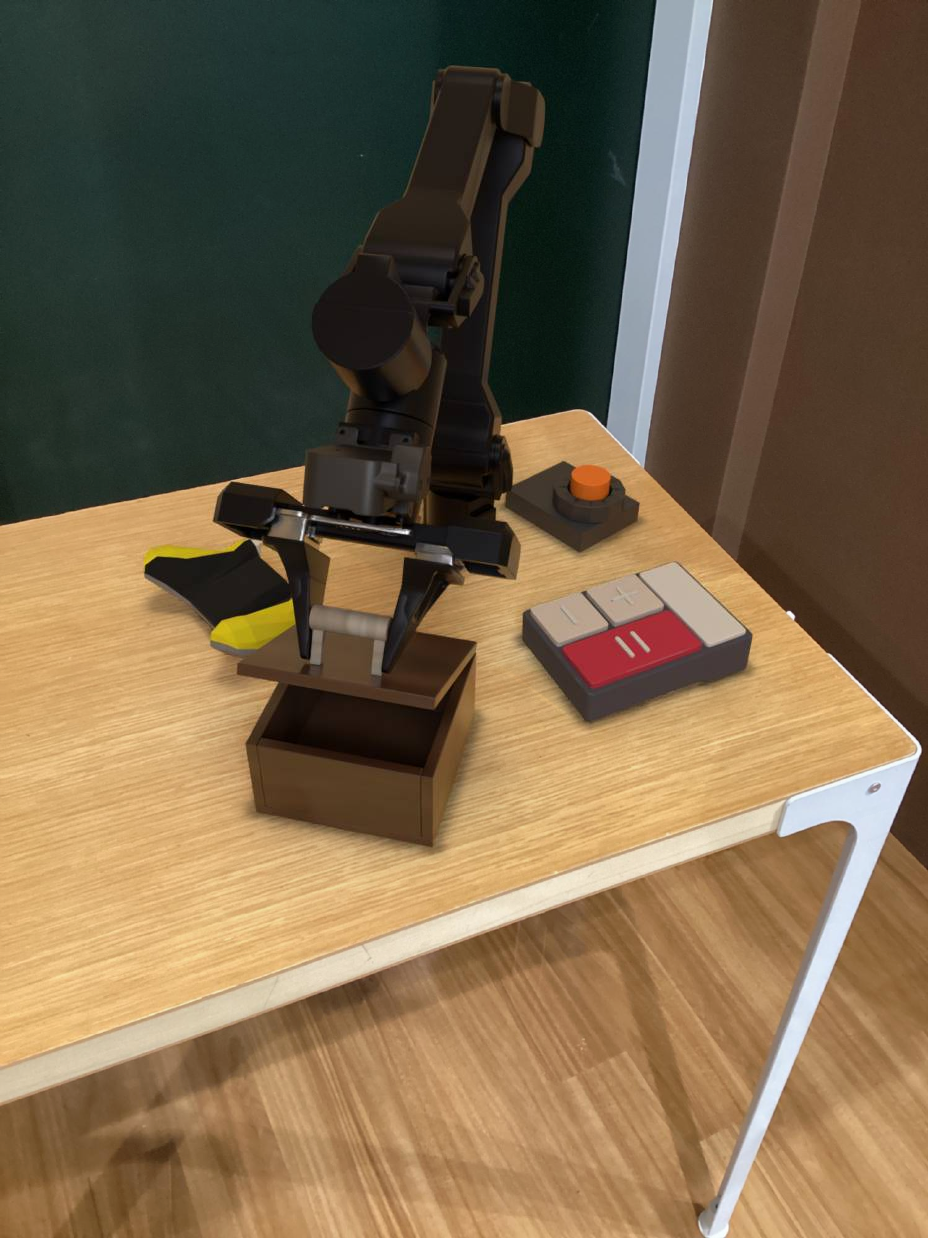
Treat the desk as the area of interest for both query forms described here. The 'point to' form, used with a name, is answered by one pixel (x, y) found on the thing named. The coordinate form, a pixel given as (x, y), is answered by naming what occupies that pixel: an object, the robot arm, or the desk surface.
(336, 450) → the robot arm
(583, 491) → the button
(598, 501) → the console
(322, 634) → the lid
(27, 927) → the desk surface
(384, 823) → the chest
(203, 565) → the gaming controller
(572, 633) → the calculator
